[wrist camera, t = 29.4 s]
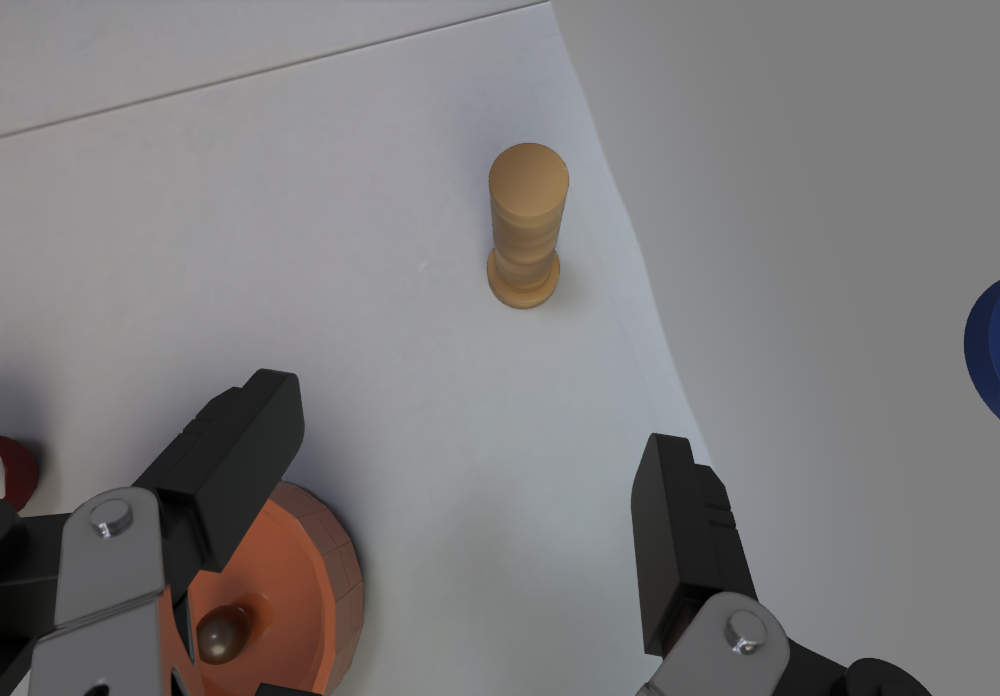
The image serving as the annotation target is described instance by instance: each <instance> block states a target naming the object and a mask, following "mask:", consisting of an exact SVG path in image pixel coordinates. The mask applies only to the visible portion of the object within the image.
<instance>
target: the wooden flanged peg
mask: <svg viewBox="0 0 1000 696" xmlns="http://www.w3.org/2000/svg"><path fill="white" fill-rule="evenodd" d="M568 187H569V174H568V170H567V167H566V165H565V163H564V161H563V160H562V158H561V157H560V156H559V155H558V154H557V153H556V152H555V151H553V150H552V149H550V148H548V147H546V146H543V145H540V144H536V143H523V144H518V145H515V146H512V147H510V148H508V149H506V150H505V151H504V152H502V153H501V154H500V155H499V156H498V157H497V158H496V160H495V161H494V163H493V165H492V167H491V170H490V173H489V190H490V202H491V214H492V227H493V239H494V248H493V250H492V251H491V253H490V255H489V258H488V262H487V275H488V282H489V286H490V288H491V290H492V292H493V294H494V295H495V296H496V297H497V298H498V299H499V300H500V301H501V302H502V303H504V304H506V305H508V306H510V307H513V308H518V309H528V308H533V307H536V306H538V305H540V304H542V303H544V302H545V301H546V300H547V299H548V298H549V297H550V296H551V295H552V294H553V292H554V290H555V288H556V285H557V282H558V278H559V273H560V263H559V259H558V256H557V254H556V252H555V248H556V243H557V239H558V234H559V229H560V224H561V220H562V215H563V210H564V206H565V201H566V196H567V191H568Z"/></svg>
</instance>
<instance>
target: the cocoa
mask: <svg viewBox="0 0 1000 696" xmlns="http://www.w3.org/2000/svg"><path fill="white" fill-rule="evenodd" d="M37 474H38V469H37V467H36V464H35V461H34V459H33V456H32V454H31V452H30V451H29V450H27V449H26V448H25V447H24V446H23V445H21V444H20V443H19V442H18V441H17V440H14V439H11V438H9V437H5V436H1V435H0V499H4V500H6V501H8V502H10V503H11V504H12V505H13V506H14V508H15V510H16V511H17V513H18V512H19V511H20V510H21V509H23V508H24V507H25V505H26V503H27V502H28V500H29V498H30V497H31V495H32V493H33V492H34V490H35V488H36V483H37Z"/></svg>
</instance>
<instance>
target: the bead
mask: <svg viewBox="0 0 1000 696" xmlns="http://www.w3.org/2000/svg"><path fill="white" fill-rule="evenodd" d="M196 632H197V641H198V650H199V659H200V660H201V661H203V662H205V663H207V664H211V665H221V664H225V663H228V662H230V661H232V660H233V659H235V658H236V657H238V656H239V655H240V654H241V653H242V652H243V651H244V649H245V648H246V646H247V645H248V643H249V640H250V638H251V633H252V624H251V620H250V617H249V616H248V614H247V613H246V612H245V611H244V610H243V609H241V608H240V607H237V606H234V605H223V606H219V607H217V608H214V609H212V610H211V611H209V612H208V613H207V614H205V615H204V616H203V617H202V618H201V620H200V621H199V622H198V624H197V626H196Z"/></svg>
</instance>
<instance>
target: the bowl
mask: <svg viewBox="0 0 1000 696" xmlns="http://www.w3.org/2000/svg"><path fill="white" fill-rule="evenodd" d="M190 587H191V590H192V597H193V606H194V615H195V624H196V626H197V624H198V622H199V621H200V620H201V618H202V617H203V616H204V615H205V614H207V613H208V612H209V611H211V610H212V609H214V608H217V607H219V606H223V605H234V606H237V607H240V608H241V609H243V610H244V611H245V612H246V613H247V614H248V616H249V617H250V620H251V624H252V633H251V638H250V640H249V643H248V645H247V646H246V648H245V649H244V651H243V652H242V653H241V654H240V655H239V656H238V657H236V658H235V659H233V660H232V661H230V662H228V663H225V664H221V665H211V664H207V663H205V662H203V661H201V660H200V668H201V675H202V681H203V685H204V690H205V693H206V696H254V695H255V693H256V691H257V689H258V687H259V685H260V682H262V683H267V684H272V685H278V686H283V687H288V688H293V689H298V690H303V691H309V692H314V693H319V694H322V695H323V696H332V694H333V693H334V691H335V690H336V688H337V686H338V685H339V683H340V682H341V680H342V679H343V677H344V676H345V674H346V673H347V671H348V669H349V668H350V666H351V663H352V660H353V656H354V653H355V650H356V646H357V643H358V640H359V636H360V633H361V629H362V626H363V597H364V581H363V577H362V574H361V571H360V567H359V564H358V561H357V557H356V554H355V551H354V548H353V544H352V542H351V539H350V538H349V536H348V535H347V533H346V532H345V531H344V529H343V528H342V526H341V525H340V523H339V522H338V521H337V519H336V518H335V516H334V515H333V513H332V512H331V511H330V509H329V508H328V507H326V506H325V505H324V504H322V503H321V502H319V501H318V500H317V499H315V498H314V497H312V496H311V495H310V494H308V493H307V492H306V491H304V490H303V489H301V488H300V487H298V486H295V485H292V484H289V483H285V482H282V481H279V482H278V484H277V485H276V487H275V489H274V490H273V492H272V493H271V495H270V497H269V498H268V500H267V501H266V503H265V504H264V506H263V508H262V509H261V511H260V512H259V514H258V516H257V517H256V519H255V520H254V522H253V524H252V525H251V527H250V528H249V530H248V531H247V533H246V535H245V536H244V538H243V539H242V541H241V543H240V544H239V546H238V547H237V549H236V551H235V552H234V554H233V555H232V557H231V559H230V560H229V562H228V563H227V565H226V566H225V568H224V570H223V571H222V573H221V574H220V573H215V572H209V571H204V570H199V572H198V573H197V575H196V576H195V578H194V579H193V581H192V582H191V584H190Z"/></svg>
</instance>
